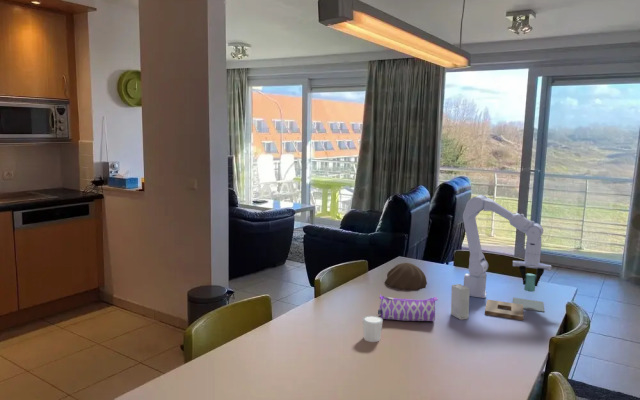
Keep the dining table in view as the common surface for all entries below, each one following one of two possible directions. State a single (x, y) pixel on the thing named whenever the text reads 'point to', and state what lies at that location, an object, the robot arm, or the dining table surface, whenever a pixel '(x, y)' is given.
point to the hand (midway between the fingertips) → (529, 284)
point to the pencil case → (407, 309)
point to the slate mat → (530, 304)
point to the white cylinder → (372, 328)
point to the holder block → (513, 314)
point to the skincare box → (460, 301)
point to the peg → (530, 282)
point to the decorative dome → (406, 277)
